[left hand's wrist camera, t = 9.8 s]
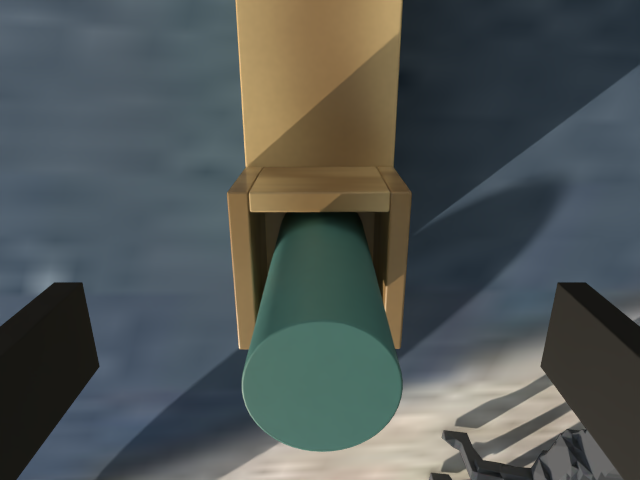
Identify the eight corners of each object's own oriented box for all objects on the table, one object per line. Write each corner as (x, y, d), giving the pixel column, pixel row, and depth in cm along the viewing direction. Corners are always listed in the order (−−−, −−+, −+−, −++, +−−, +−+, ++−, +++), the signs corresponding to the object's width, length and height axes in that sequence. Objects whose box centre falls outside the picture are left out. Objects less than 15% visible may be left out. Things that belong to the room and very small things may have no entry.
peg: (278, 194, 19) (236, 319, 10) (365, 194, 19) (408, 320, 10) (281, 273, 20) (245, 452, 11) (362, 273, 20) (398, 453, 11)
